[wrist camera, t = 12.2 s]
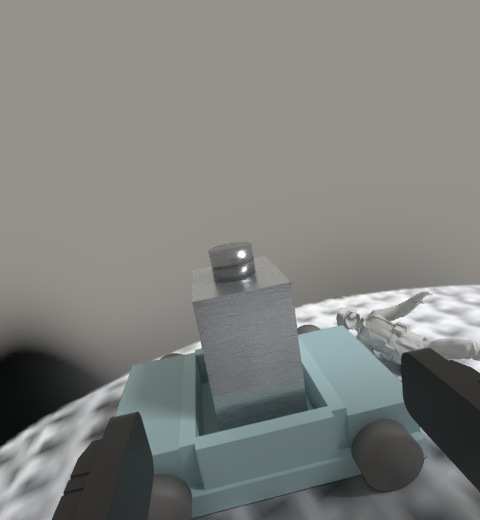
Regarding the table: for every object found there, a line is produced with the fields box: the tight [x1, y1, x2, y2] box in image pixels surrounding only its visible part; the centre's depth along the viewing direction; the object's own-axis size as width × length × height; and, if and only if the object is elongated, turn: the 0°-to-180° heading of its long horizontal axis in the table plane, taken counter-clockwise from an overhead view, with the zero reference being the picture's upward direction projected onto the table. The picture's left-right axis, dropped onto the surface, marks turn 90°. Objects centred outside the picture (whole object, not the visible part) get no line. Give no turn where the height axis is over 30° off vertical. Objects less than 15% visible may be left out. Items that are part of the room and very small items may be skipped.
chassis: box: [115, 325, 427, 520], centre depth 21 cm, size 16×12×4 cm
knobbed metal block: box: [192, 242, 308, 431], centre depth 20 cm, size 5×6×11 cm
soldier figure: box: [336, 292, 480, 365], centre depth 23 cm, size 8×5×12 cm
